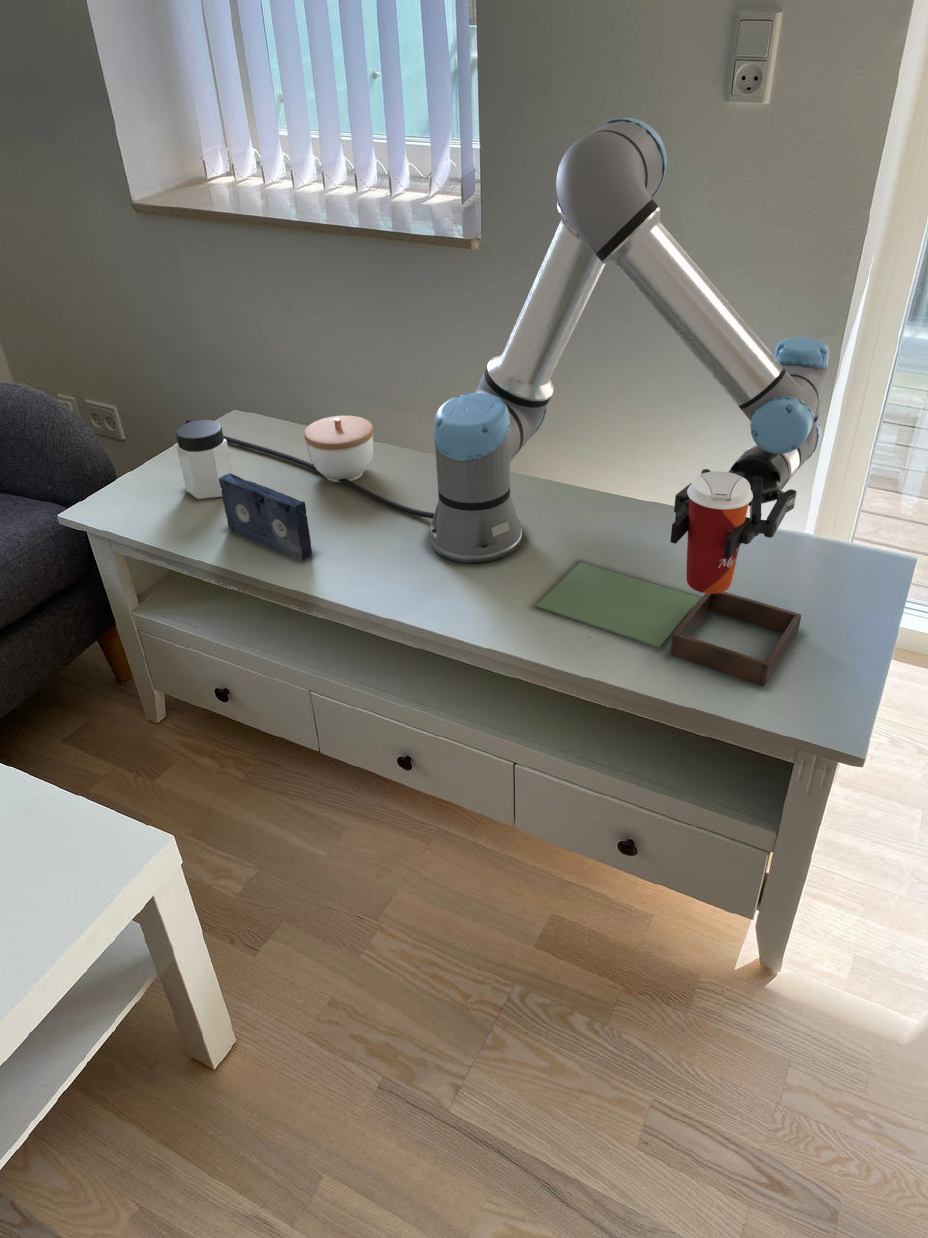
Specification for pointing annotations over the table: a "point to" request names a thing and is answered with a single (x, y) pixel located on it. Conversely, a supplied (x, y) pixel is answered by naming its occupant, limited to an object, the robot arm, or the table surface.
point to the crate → (727, 658)
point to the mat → (619, 604)
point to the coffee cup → (714, 528)
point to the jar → (203, 457)
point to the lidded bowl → (340, 446)
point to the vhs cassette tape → (266, 516)
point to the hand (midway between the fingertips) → (700, 541)
